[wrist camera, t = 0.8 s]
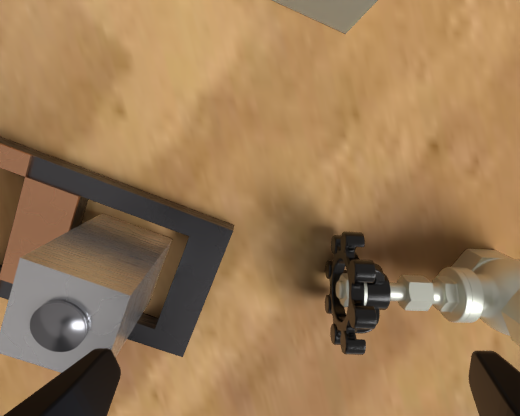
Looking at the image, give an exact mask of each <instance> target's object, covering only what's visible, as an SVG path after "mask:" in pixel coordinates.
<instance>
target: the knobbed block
mask: <svg viewBox="0 0 520 416" xmlns="http://www.w3.org/2000/svg"><path fill="white" fill-rule="evenodd" d="M171 242H172V239H171V238H169V237H166V236H163V235H160V234H158V233H155V232H152V231H150V230H147V229H144V228H141V227H139V226H136V225H133V224H130V223H128V222H125V221H122V220H120V219H117V218H114V217H111V216H109V215H106V214H103V213H102V214H100V215H98V216H96V217H94V218H92V219H91V220H89V221H87V222H85V223H83V224H81V225H79V226H78V227H76V228H74V229H72V230H70V231H68V232H67V233H65V234H63V235H61V236H59V237H57V238H55V239H54V240H52V241H50V242H48V243H46V244H44V245H43V246H41V247H39V248H37V249H35V250H33V251H31V252H30V253H28V254H26V255H24V256H22V257H20V260H19V263H18V267H17V271H16V275H15V278H14V282H13V286H12V290H11V293H10V297H9V301H8V305H7V308H6V312H5V316H4V320H3V323H2V327H1V331H0V354H4V355H7V356H10V357H13V358H16V359H20V360H23V361H26V362H29V363H32V364H36V365H39V366H42V367H45V368H48V369H51V370H55V371H58V372H61V373H62V372H64V371H65V370H66V369H68V368H69V367H70V366H72V365H73V364H74V363H76V362H77V361H78V360H80V359H81V358H83V357H84V356H85V355H87V354H88V353H89V352H91V351H92V350H94V349H97V348H109V349H110V350H112V352H113V354H114V356H115V358H116V356H117V355H118V353H119V351H120V350H121V348H122V346H123V345H124V343H125V341H126V340H127V338H128V337H129V335H130V333H131V332H132V330H133V328H134V327H135V325H136V323H137V322H138V320H139V318H140V317H141V315H142V313H143V312H144V310H145V308H146V307H147V305H148V303H149V302H150V300H151V297H152V294H153V292H154V289H155V286H156V283H157V281H158V278H159V275H160V272H161V270H162V267H163V264H164V261H165V259H166V256H167V253H168V250H169V248H170V245H171Z"/></svg>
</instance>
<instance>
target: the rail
mask: <svg viewBox="0 0 520 416" xmlns="http://www.w3.org/2000/svg"><path fill="white" fill-rule="evenodd" d="M0 168H2V169H5V170H8V171H11V172H13V173H16V174H19V175H21V176H24V177H25V179H24V183H23V187H22V191H21V195H20V199H19V203H18V207H17V211H16V214H15V218H14V222H13V226H12V230H11V234H10V238H9V242H8V246H7V250H6V253H5V257H4V261H3V265H0V297H2V298H5V299H8V300H9V297H10V293H11V290H12V286H13V282H14V278H15V275H16V271H17V267H18V263H19V260H20V257H22V256H24V255H26V254H28V253H30V252H31V251H33V250H35V249H37V248H39V247H41V246H43V245H44V244H46V243H48V242H50V241H52V240H54V239H55V238H57V237H59V236H61V235H63V234H65V233H67V232H68V231H70V230H72V229H74V228H76V227H78V226H79V225H81V222H82V218H83V215H84V212H85V208H86V205H87V202H88V199H90V200H93V201H95V202H98V203H101V204H103V205H106V206H109V207H112V208H114V209H117V210H120V211H122V212H125V213H128V214H130V215H133V216H136V217H139V218H141V219H144V220H147V221H149V222H152V223H155V224H158V225H160V226H163V227H166V228H168V229H171V230H174V231H176V232H179V233H182V234H185V235H187V236H189V239H188V242H187V244H186V247H185V250H184V253H183V255H182V258H181V261H180V263H179V266H178V269H177V271H176V274H175V277H174V279H173V282H172V285H171V287H170V290H169V293H168V295H167V298H166V301H165V303H164V306H163V309H162V311H161V314H160V317H159V318H156V317H153V316H150V315H147V314H144V313H142V315H141V317H140V318H139V320H138V322H137V323H136V325H135V327H134V328H133V330H132V332H131V333H130V335H129V337H128V338H127V339H129V340H132V341H135V342H138V343H141V344H144V345H147V346H150V347H153V348H156V349H159V350H162V351H165V352H168V353H172V354H175V355H178V356H181V357H183V355H184V352H185V350H186V347H187V345H188V342H189V340H190V337H191V335H192V332H193V330H194V327H195V325H196V322H197V320H198V317H199V315H200V312H201V310H202V307H203V305H204V302H205V300H206V297H207V295H208V292H209V290H210V287H211V285H212V282H213V280H214V277H215V275H216V272H217V270H218V267H219V265H220V262H221V260H222V257H223V255H224V252H225V250H226V247H227V245H228V242H229V240H230V237H231V235H232V232H233V229H234V225H232V224H230V223H227V222H224V221H222V220H219V219H216V218H214V217H211V216H208V215H206V214H203V213H200V212H198V211H195V210H193V209H190V208H187V207H185V206H182V205H179V204H177V203H174V202H171V201H169V200H166V199H163V198H161V197H158V196H156V195H153V194H150V193H148V192H145V191H142V190H140V189H137V188H134V187H132V186H129V185H127V184H124V183H121V182H119V181H116V180H113V179H111V178H108V177H105V176H103V175H100V174H97V173H95V172H92V171H90V170H87V169H84V168H82V167H79V166H76V165H74V164H71V163H68V162H66V161H63V160H60V159H58V158H55V157H53V156H50V155H47V154H45V153H42V152H39V151H37V150H34V149H31V148H29V147H26V146H24V145H21V144H18V143H16V142H13V141H10V140H8V139H5V138H2V137H0Z"/></svg>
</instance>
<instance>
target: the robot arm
mask: <svg viewBox="0 0 520 416" xmlns="http://www.w3.org/2000/svg"><path fill="white" fill-rule="evenodd" d="M120 375H121V370H120V367H119V365H118V362H117V360H116V358H115V356H114V354H113V352H112V350H110V349H109V348H97V349H94V350H92V351H91V352H89V353H88V354H87V355H85V356H84V357H83V358H81V359H80V360H78V361H77V362H76V363H74V364H73V365H72V366H70V367H69V368H68V369H66V370H65V371H64V372H62V373H61V374H59V375H58V376H57V377H55V378H54V379H53V380H51V381H50V382H49V383H47V384H46V385H45V386H43V387H42V388H40V389H39V390H38V391H36V392H35V393H34V394H32V395H31V396H30V397H28V398H27V399H25V400H24V401H23V402H21V403H20V404H19V405H17V406H16V407H15V408H13V409H12V410H11V411H9V412H8V413H6V414H5V415H4V416H107V414H108V411H109V408H110V405H111V402H112V399H113V397H114V394H115V391H116V388H117V385H118V382H119V379H120ZM469 384H470V388H471V391H472V394H473V397H474V400H475V404H476V407H477V410H478V413H479V416H520V372H519V371H518V370H517V369H516V368H514V367H513V366H512V365H511V364H510V363H508V362H507V361H506V360H505V359H504V358H502V357H501V356H500V355H499V354H497V353H496V352H494V351H474V352H473V353H472V356H471V363H470V370H469Z"/></svg>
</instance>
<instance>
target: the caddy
mask: <svg viewBox="0 0 520 416" xmlns="http://www.w3.org/2000/svg"><path fill="white" fill-rule="evenodd" d="M273 1H275V2H277V3H279V4H281V5H283V6H286V7H288V8H290V9H292V10H294V11H297V12H299V13H301V14H303V15H305V16H307V17H310V18H312V19H314V20H316V21H318V22H321V23H323V24H325V25H327V26H329V27H332V28H334V29H336V30H338V31H340V32H342V33H345V34H346V33H347V32H348V31H349V30H350V29H351V28H352V27H353V26H354V25H355V24H356V23H357V22H358V20H359V19H360V18H361V17H362V16H363V15H364V14H365V13H366V12H367V11H368V10H369V9H370V8H371V7H372V6H373V5H374V4H375V3H376V2H377V1H378V0H273Z"/></svg>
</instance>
